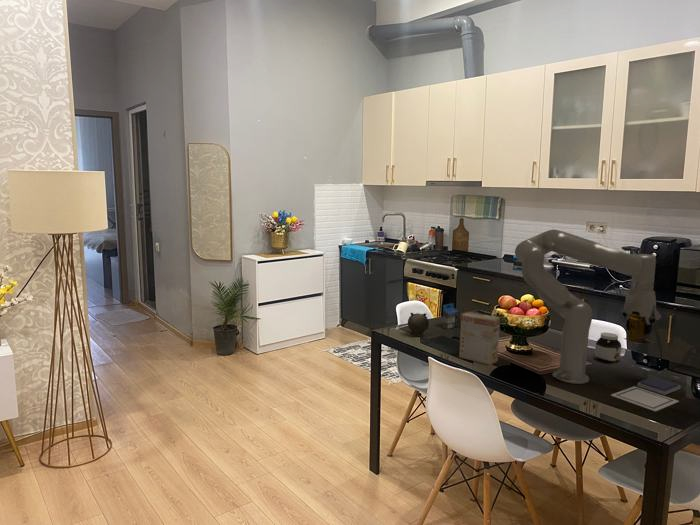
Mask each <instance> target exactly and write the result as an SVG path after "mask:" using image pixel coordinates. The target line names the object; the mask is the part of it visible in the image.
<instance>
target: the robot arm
mask: <svg viewBox="0 0 700 525" xmlns="http://www.w3.org/2000/svg"><path fill="white" fill-rule="evenodd" d="M551 252H553V253H555V254H559V255H562V256H564V257H568V258H571V259H573V260H577V261H580V262H583V263H586V264H589V265H592V266H597V267H600V268H603V269H607V270H610V271H614V272H617V273H619V274H622V275H626V276H629V277H631V281H627V285H629V286H630V287H629V288H628V290H627V293H626V296H625V300H624V301H625V302H624V305H623V306H621V307H620V308H619V309H618V310H619V311H620V312H621V314H622V316H623V317H624V319H625V321H626V323H625V327H626V331H629V319H630V316H631V315H632V312H633V311H635V312H639V313H640V316H641V317H645V320H646V323H647V324H645V330H644V334H645V335H646V336H647V335H649V334H651V332H652V325H653V324H654V323H655V322H657V321H658V320H661V318H662V315H661V314H660V313H659V311H658V310H657V298H656V291H655V290H654V286H655V275H656V274H655V273H656V263H657V258H656V256H655V255H653V254H649V253H636V254H634V253H633V254H632V253H626V252H624V251H620V250H617V249H614V248H612V247H608V246H606V245H603V244H601V243H599V242H596V241H593V240H591V239H587V238H586V237H585V238H584V237H581V236H578V235H575V234H573V233H570V232H566V231H562V230H559V229H548V230H546V231H543V232H541V233H540V234H537V235H534V236H532V237H530V238H527V239H525V240H522V241H521V242H519V243H518V245H517V246H516V247H515V248H514V255H515V258H516V259H517V260H518V261H519V262H520V263H521V275H522V278H523V280H524V281H525V283H526V284H527V285H529V287H531V289H533V290H534V291H535V292H536V294H537V296H538V298H539V299H540V300H542V301H543V302H544V303H545V304H546V305H547V306H549V308H551V309H552V310H554V312H555V313H557V314H558V315H559V316H561V317H562V318H563V319H564V320H565V321H564V324H563V327H562V332H561V341H560V342H561V344H560V353H559V354H560V356H559V367H558V368H557V370H556V371H554V372H552V377H554V378H556V379H557V381H558V380H559V381H561V382H564V383H567V384H568V383H569V384H575V385H582V384H583V385H584V384H588V383H589V381H590V376H588V375H586V367H587V359H588V358H587V356H588V347H589V335H590V329H591V324H592V321H593V317H594V315H593V310H592V307H591V306H590V305H589V304H588V303H587V302H586V301H584V300H582V299H580V298H578V297H576V296H575V295H574V294H573V293H571V292H570V291H569V289H568V288H567V286H566V285H565V284H563V283H562V282H560V281H559V280H558V279H557V278H555V277H554V276H553V275H552V274H551V273H550V272H549V271H548V270H546V268H545V264H544V263H545V256H546V254H548V253H551Z"/></svg>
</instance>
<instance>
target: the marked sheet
mask: <svg viewBox="0 0 700 525" xmlns="http://www.w3.org/2000/svg"><path fill="white" fill-rule="evenodd" d="M610 396H611V397H614V398H616V399H619V400H622V401H625V402H627V403H630V404H633V405H635V406H639V407H642V408H644V409H647V410H650V411H653V412H658V411H661V410H663V409H666V408H667V407H668V408H669V407H670V406H672V405H674V404H676V403H680V401H679V400H678V399H674V398H671V397H669V396H666V395H663V394H660V393H657V392H654V391H651V390H648V389H645V388H642V387H639V386H632V387H628V388H626V389H623V390H620V391H618V392H614V393H611V394H610Z"/></svg>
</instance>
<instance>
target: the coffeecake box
mask: <svg viewBox="0 0 700 525" xmlns="http://www.w3.org/2000/svg"><path fill="white" fill-rule="evenodd" d="M460 317H461V318H460V337H459V353H458V354H459V356H458V358H460V359H464V360H469V361H473V362H476V363H477V362H478V363H480V364H485V365H490V366H491V365H493V364H495V363H497V362H498V358H499V357H498V356H499V340H500V325H501V324H500V323H501V317H499V316H494V315H487V314H483V313H477V312H472V311H466V312H465V313H462V314H461V316H460Z"/></svg>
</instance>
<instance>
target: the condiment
mask: <svg viewBox="0 0 700 525" xmlns="http://www.w3.org/2000/svg"><path fill="white" fill-rule="evenodd" d="M645 324H647V323H646V320H645V317H641V316H640V313H639V312H635V311H633V312H632V315H631V316H630V319H629V331H628V330H627V331H628V332H627V333H628V336H627V337H625V338H624V337H623V339H624V340H626V341H628V342H630V343H633V344H635V345H636V344H652V343H656V342H655V341H652V340H650V339H647V338H646V337H647V335H645V334H644V330H645Z"/></svg>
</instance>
